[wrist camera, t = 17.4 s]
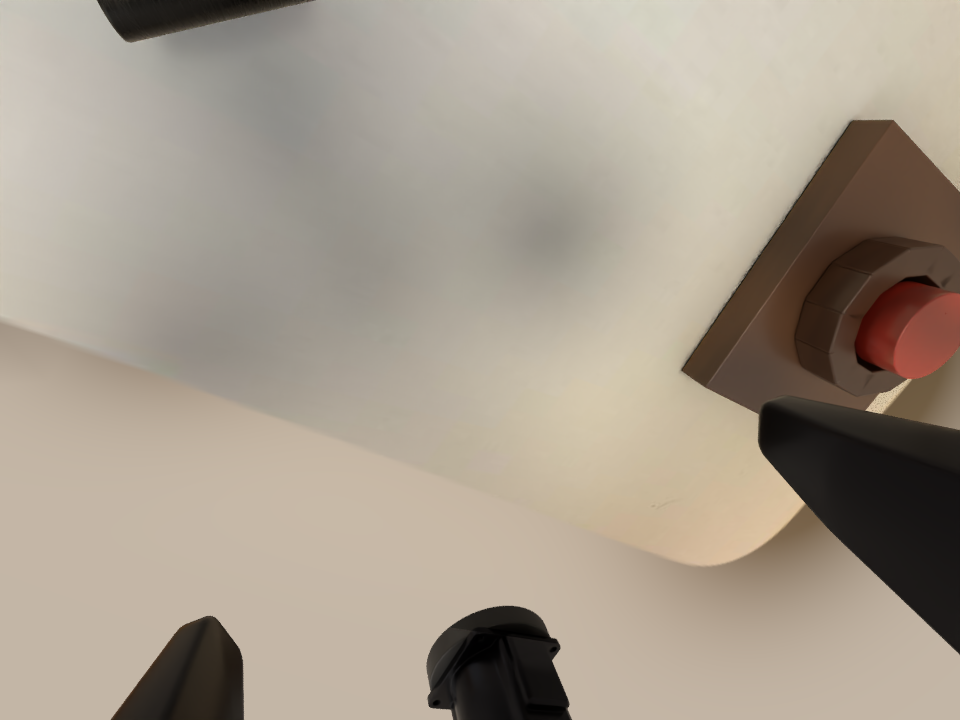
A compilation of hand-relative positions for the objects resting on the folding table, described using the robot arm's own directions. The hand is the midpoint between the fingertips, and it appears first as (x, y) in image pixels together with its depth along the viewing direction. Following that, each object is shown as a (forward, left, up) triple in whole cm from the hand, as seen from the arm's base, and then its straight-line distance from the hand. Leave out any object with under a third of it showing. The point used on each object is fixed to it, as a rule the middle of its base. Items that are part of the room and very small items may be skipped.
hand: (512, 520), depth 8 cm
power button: (+8, -18, -9) cm, 22 cm away
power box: (+8, -18, -12) cm, 23 cm away
